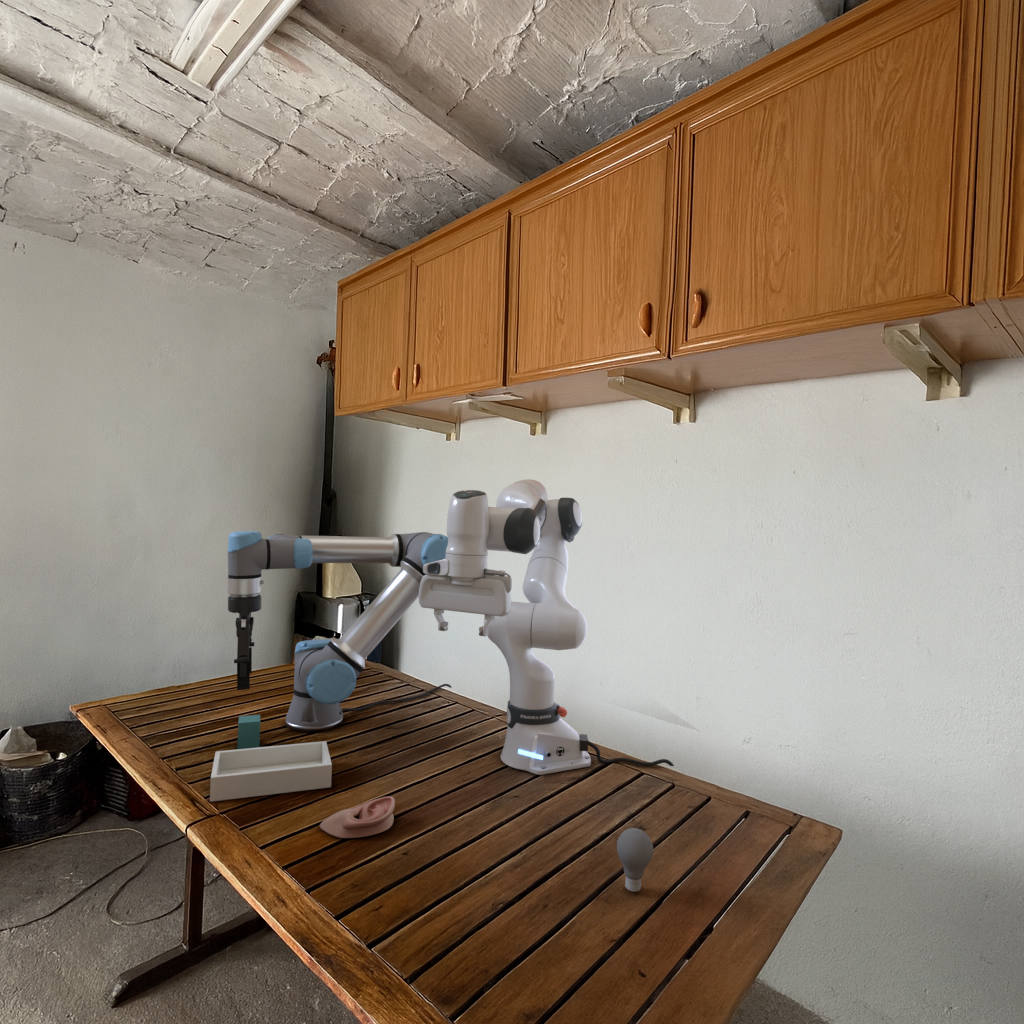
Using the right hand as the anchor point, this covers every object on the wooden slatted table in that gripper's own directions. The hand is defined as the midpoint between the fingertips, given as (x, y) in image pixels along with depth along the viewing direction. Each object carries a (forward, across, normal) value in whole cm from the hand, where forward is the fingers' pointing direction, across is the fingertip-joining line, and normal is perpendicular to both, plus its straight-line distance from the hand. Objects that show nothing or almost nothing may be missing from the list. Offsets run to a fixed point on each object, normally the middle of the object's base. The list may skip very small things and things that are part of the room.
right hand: (463, 633), depth 133 cm
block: (+36, +59, -4) cm, 69 cm away
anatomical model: (+36, +13, +16) cm, 42 cm away
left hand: (+19, +58, -1) cm, 61 cm away
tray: (+36, +41, +8) cm, 55 cm away
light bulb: (+36, -40, +14) cm, 56 cm away
